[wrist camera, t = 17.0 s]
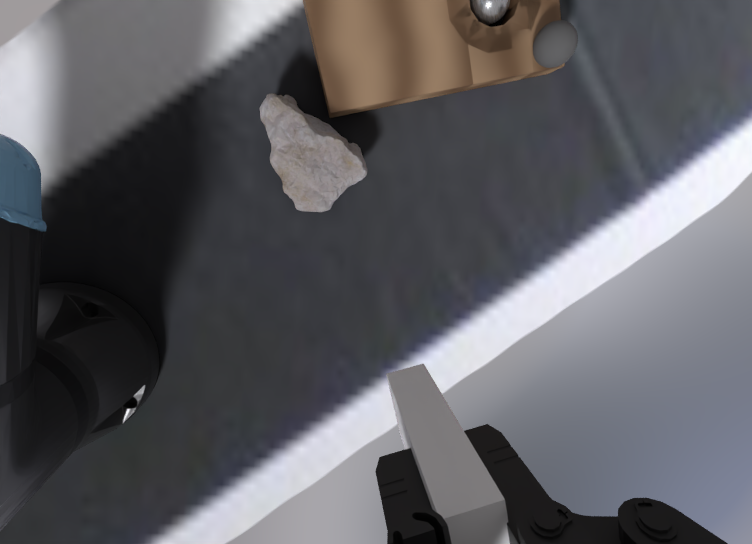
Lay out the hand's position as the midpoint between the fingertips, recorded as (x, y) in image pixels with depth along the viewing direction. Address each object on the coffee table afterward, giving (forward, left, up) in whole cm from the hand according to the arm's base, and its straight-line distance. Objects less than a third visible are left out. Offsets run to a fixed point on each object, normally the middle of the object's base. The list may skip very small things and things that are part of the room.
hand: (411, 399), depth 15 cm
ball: (+17, +21, -23) cm, 35 cm away
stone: (-1, +12, -25) cm, 28 cm away
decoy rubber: (+21, +16, -20) cm, 33 cm away
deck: (+12, +21, -24) cm, 34 cm away
